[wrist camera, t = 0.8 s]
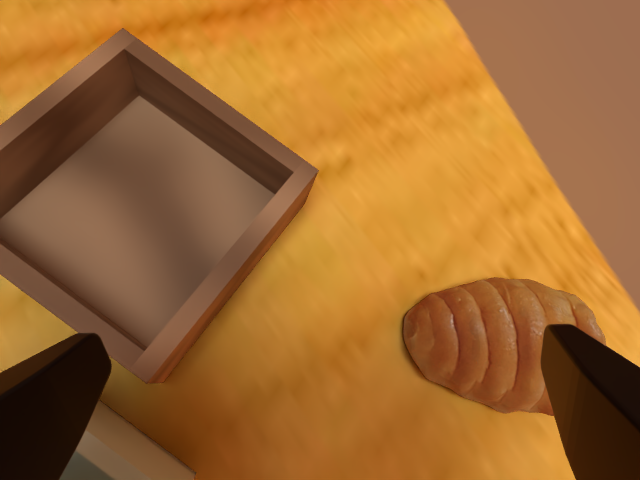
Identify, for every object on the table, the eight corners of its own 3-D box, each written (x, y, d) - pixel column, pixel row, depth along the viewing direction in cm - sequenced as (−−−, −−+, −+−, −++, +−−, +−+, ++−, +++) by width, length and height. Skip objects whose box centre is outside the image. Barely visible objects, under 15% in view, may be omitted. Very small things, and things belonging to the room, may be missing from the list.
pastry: (397, 406, 21) (431, 411, 18) (397, 272, 23) (427, 253, 20) (567, 415, 23) (630, 421, 19) (552, 289, 25) (605, 274, 21)
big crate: (162, 382, 19) (146, 383, 15) (-34, 236, 19) (-97, 202, 16) (304, 204, 23) (318, 170, 19) (139, 84, 23) (122, 27, 20)
